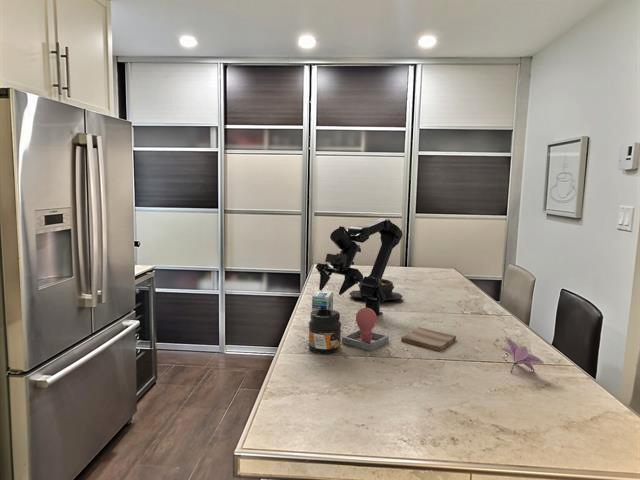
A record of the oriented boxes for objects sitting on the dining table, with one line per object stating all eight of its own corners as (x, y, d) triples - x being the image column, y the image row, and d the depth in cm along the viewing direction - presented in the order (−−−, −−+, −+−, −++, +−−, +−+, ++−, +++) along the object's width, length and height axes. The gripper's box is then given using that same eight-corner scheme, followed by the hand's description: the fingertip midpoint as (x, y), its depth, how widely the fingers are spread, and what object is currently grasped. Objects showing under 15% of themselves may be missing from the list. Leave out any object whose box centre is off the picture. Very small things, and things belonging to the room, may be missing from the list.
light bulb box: (328, 324, 169) (329, 297, 168) (311, 323, 170) (311, 295, 169) (333, 316, 179) (333, 290, 178) (316, 315, 181) (317, 289, 179)
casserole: (348, 302, 202) (348, 284, 200) (350, 292, 220) (350, 276, 219) (403, 305, 199) (404, 287, 198) (401, 295, 217) (401, 278, 216)
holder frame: (359, 333, 159) (360, 328, 159) (388, 341, 152) (388, 335, 152) (341, 342, 150) (341, 336, 150) (371, 351, 143) (371, 345, 143)
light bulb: (353, 338, 155) (354, 305, 153) (373, 338, 155) (374, 305, 154) (356, 345, 148) (357, 311, 146) (377, 345, 148) (379, 311, 147)
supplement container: (317, 356, 137) (318, 319, 136) (302, 345, 147) (303, 310, 145) (346, 351, 142) (347, 315, 141) (330, 341, 152) (331, 307, 150)
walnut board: (418, 331, 164) (418, 327, 164) (455, 340, 156) (455, 335, 155) (401, 341, 153) (401, 337, 153) (439, 351, 145) (440, 346, 144)
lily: (545, 385, 124) (553, 352, 126) (508, 369, 123) (518, 337, 125) (518, 380, 136) (526, 350, 138) (485, 365, 134) (493, 335, 137)
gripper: (317, 241, 167) (299, 277, 161) (357, 247, 155) (339, 285, 149) (331, 257, 175) (314, 291, 169) (370, 263, 163) (354, 300, 157)
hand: (329, 292), depth 161 cm, fingers open, 9 cm apart
